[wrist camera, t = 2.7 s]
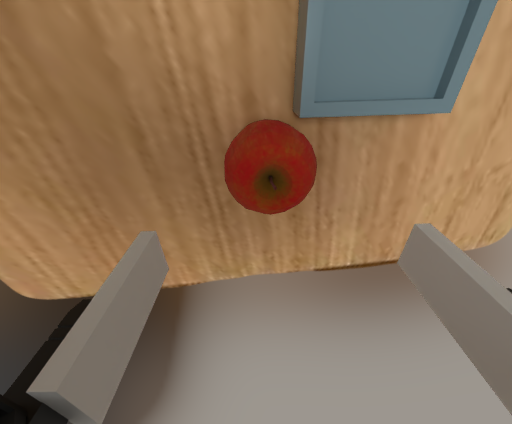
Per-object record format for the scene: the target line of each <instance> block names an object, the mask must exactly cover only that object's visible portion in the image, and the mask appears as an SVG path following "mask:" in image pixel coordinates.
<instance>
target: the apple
mask: <svg viewBox="0 0 512 424" xmlns="http://www.w3.org/2000/svg"><path fill="white" fill-rule="evenodd" d="M224 165H225V181H226V184H227V186H228V189H229V191H230V193H231V194H232V196H233V197H234V198H235V200H236V201H237V202H238V203H240V204H241V205H242V206H244V207H245V208H246V209H249V210H253V211H257V212H260V213H264V214H270V215H271V214H276V213H281V212H285V211H287V210H289V209H291V208H292V207H294V206H296V205H298V204H299V203H300V202H301V201H302V200H303V199H304V198H305V197H306V196H307V194H308V193H309V191H310V190H311V188H312V186H313V184H314V180H315V176H316V169H317V163H316V157H315V154H314V151H313V148H312V145H311V144H310V143H309V141H308V140H307V139H306V137H305V136H304V135H303V134H302V133H300V132H299V131H297V130H296V129H294V128H293V127H291V126H290V125H288V124H286V123H283V122H281V121H278V120H266V119H265V120H260V121H256V122H254V123H251V124H249V125H248V126H246V127H245V128H244V129H243V130H242V131H241V132H240V133H239V134H238V135H237V136H236V137H235V139H234V140H233V141H232V142H231V144H230V146H229V148H228V150H227V152H226V155H225V161H224Z"/></svg>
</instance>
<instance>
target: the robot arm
mask: <svg viewBox="0 0 512 424" xmlns="http://www.w3.org/2000/svg"><path fill="white" fill-rule="evenodd" d="M397 263H398V265H399V266H400V267H401V269H402V270H403V271H404V273H405V274H406V275H407V277H408V278H409V279H410V281H411V282H412V283H413V285H414V286H415V287H416V289H417V290H418V291H419V293H420V294H421V295H422V297H423V298H424V299H425V301H426V302H427V303H428V305H429V306H430V307H431V309H432V310H433V311H434V312H435V314H436V315H437V316H438V318H439V319H440V320H441V322H442V323H443V325H444V326H445V327H446V328H447V330H448V331H449V332H450V334H451V335H452V336H453V338H454V339H455V340H456V342H457V343H458V344H459V346H460V347H461V348H462V350H463V351H464V352H465V354H466V355H467V356H468V358H469V359H470V360H471V362H472V363H473V364H474V366H475V367H476V368H477V370H478V371H479V372H480V374H481V375H482V376H483V378H484V379H485V380H486V382H487V383H488V384H489V386H490V387H491V388H492V390H493V391H494V392H495V394H496V395H497V396H498V397H499V399H500V400H501V401H502V403H503V404H504V406H505V407H506V408H507V409H508V411H509V412H510V414H511V415H512V290H511V289H509V288H505V287H504V286H502V285H501V284H500V283H499V282H498V281H497V280H495V279H494V278H493V277H492V276H491V275H490V274H488V273H487V272H486V271H485V270H484V269H483V268H481V267H480V266H479V265H478V264H477V263H476V262H474V261H473V260H472V259H470V257H469V256H467V255H466V254H465V253H464V252H463V251H462V250H460V249H459V248H458V247H457V246H456V245H455V244H453V243H452V242H451V241H450V240H449V239H448V238H446V237H445V236H444V235H443V234H442V233H441V232H439V231H438V230H437V229H436V228H435V227H434V226H432V225H431V224H415V225H414V227H413V229H412V231H411V233H410V236H409V238H408V240H407V242H406V245H405V247H404V249H403V251H402V254H401V256H400V258H399V260H398V262H397ZM168 270H169V268H168V265H167V262H166V259H165V256H164V253H163V251H162V248H161V245H160V242H159V239H158V236H157V233H156V231H141V232H140V233H139V235H138V236H137V237H136V239H135V240H134V242H133V243H132V244H131V246H130V247H129V249H128V250H127V251H126V253H125V254H124V256H123V257H122V258H121V260H120V261H119V263H118V264H117V265H116V267H115V268H114V270H113V271H112V272H111V274H110V275H109V277H108V278H107V279H106V281H105V282H104V284H103V285H102V286H101V288H100V289H99V291H98V292H97V293H96V295H95V296H94V298H93V299H87V300H82V301H81V302H80V303H79V304H77V305H76V306H75V307H74V308H73V309H71V310H70V311H69V312H68V313H67V315H66V316H65V317H64V318H63V320H62V321H61V322H60V324H59V325H58V328H57V329H55V330H54V331H53V333H52V334H51V335H50V336H49V340H48V341H46V342H45V343H44V344H43V346H42V347H41V348H40V349H39V351H38V352H37V353H36V355H35V356H34V357H33V358H32V360H31V361H30V362H29V364H28V365H27V366H26V367H25V369H24V370H23V371H22V373H21V374H20V375H19V376H18V378H17V379H16V380H15V382H14V383H13V384H12V385H11V387H10V388H9V389H8V390H7V392H6V393H5V394H4V395H3V396H2V395H0V424H67V422H68V421H70V422H71V423H73V424H102V422H103V419H104V417H105V415H106V413H107V410H108V408H109V406H110V403H111V401H112V399H113V397H114V394H115V392H116V390H117V387H118V384H119V383H120V380H121V378H122V376H123V374H124V371H125V369H126V366H127V364H128V362H129V360H130V357H131V355H132V353H133V350H134V348H135V346H136V343H137V341H138V339H139V337H140V334H141V332H142V330H143V327H144V325H145V323H146V321H147V318H148V316H149V314H150V311H151V309H152V307H153V304H154V302H155V300H156V297H157V295H158V293H159V291H160V288H161V286H162V284H163V281H164V279H165V277H166V274H167V272H168Z"/></svg>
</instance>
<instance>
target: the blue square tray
mask: <svg viewBox="0 0 512 424" xmlns="http://www.w3.org/2000/svg"><path fill="white" fill-rule="evenodd" d="M497 1H498V0H299V12H298V29H297V46H296V63H295V81H294V98H293V112H294V113H295V114H296V115H297V116H298V117H299V118H308V117H338V116H369V115H400V114H431V113H451V110H452V108H453V106H454V103H455V101H456V99H457V96H458V94H459V91H460V89H461V87H462V84H463V82H464V79H465V77H466V75H467V72H468V70H469V68H470V65H471V63H472V60H473V58H474V56H475V53H476V51H477V49H478V46H479V44H480V41H481V39H482V37H483V34H484V32H485V30H486V27H487V25H488V22H489V20H490V18H491V15H492V13H493V11H494V8H495V6H496V3H497Z"/></svg>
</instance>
